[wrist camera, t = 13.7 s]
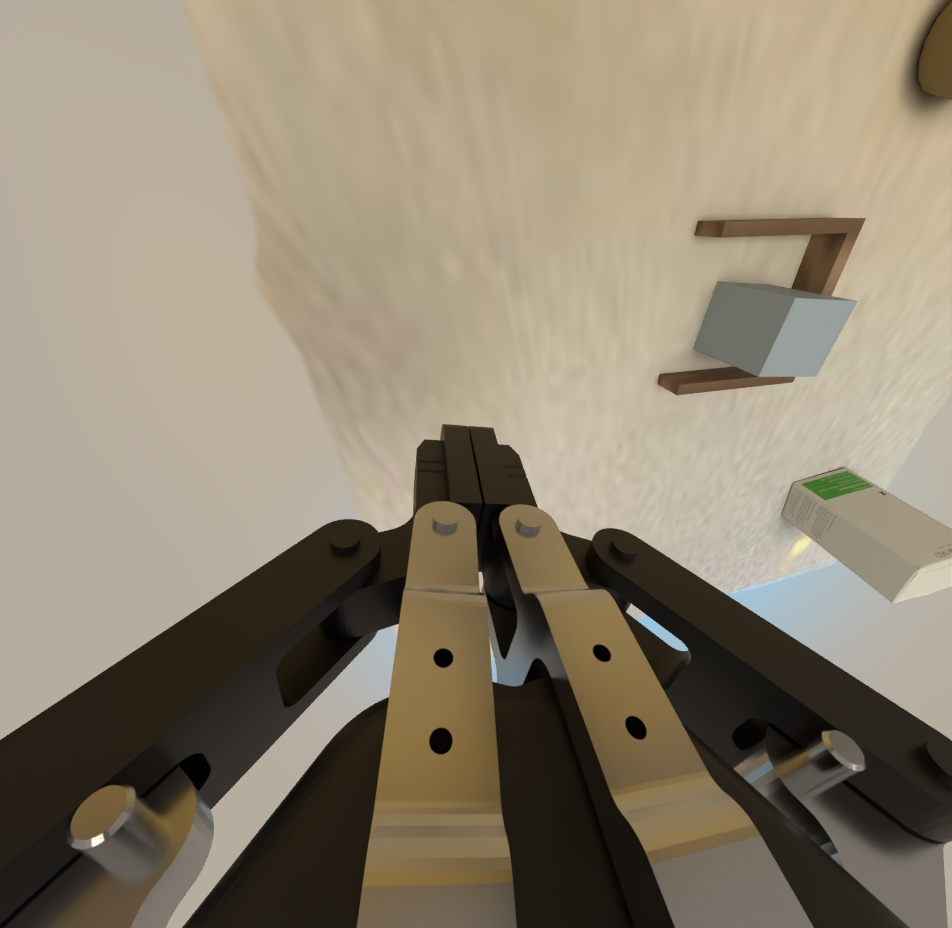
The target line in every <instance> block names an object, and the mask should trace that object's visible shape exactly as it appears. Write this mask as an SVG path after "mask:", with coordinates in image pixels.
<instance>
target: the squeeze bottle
mask: <svg viewBox="0 0 952 928" xmlns="http://www.w3.org/2000/svg"><path fill="white" fill-rule="evenodd" d="M918 80H919V83H920V85H921V87H922V90H923V91H924V92H926V93H929V94H931V95H934V96H939V97H944V98H949V99H952V0H951V1H950V3H949V4H948V5H947V6H946V8H945V9H944V10H943V11H942V13H941V14H940V15H939V16H938V18H937V20H936V22H935V23H934V25H933V27H932V29H931V31H930V33H929V35H928V36H927V38H926V41H925V44H924V47H923V50H922V53H921V57H920V60H919V72H918Z"/></svg>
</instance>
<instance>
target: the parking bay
mask: <svg viewBox="0 0 952 928" xmlns="http://www.w3.org/2000/svg"><path fill="white" fill-rule="evenodd" d="M865 219H866V218H803V219H762V220H721V221H698V225H697V229H696V233H695V235H699V236H712V237H742V236H772V235H803V234H813V235H812V238H811V240H810V243H809V246H808V248H807V251H806V253H805V256H804V258H803V261H802V263H801V266H800V269H799V271H798V274H797V276H796V279H795V281H794V284H793V287H792V289H795V290H801V291H806V292H811V293H817V294H822V295H827V296H831V295H832V293H833V291H834V289H835V286H836V284H837V282H838V280H839V277H840V275H841V273H842V271H843V268H844V266H845V264H846V262H847V259H848V257H849V255H850V253H851V250H852V248H853V246H854V244H855V241H856V239H857V237H858V235H859V232H860V230H861V228H862V226H863V223H864V221H865ZM794 378H795V377H758V376H756V375H753V374H751V373H749V372H746V371H744V370H742V369H739V368H737V367H727V368H717V369H707V370H697V371H687V372H677V373H667V374H660V377H659V381H658V384H659V385H661V386H662V387H664V388H666V389H667V390H669V391H671V392H672V393H674V394H675V395H683V394H691V393H700V392H709V391H718V390H727V389H736V388H745V387H754V386H763V385H772V384H781V383H790V382H793V381H794Z"/></svg>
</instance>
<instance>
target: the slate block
mask: <svg viewBox="0 0 952 928" xmlns="http://www.w3.org/2000/svg"><path fill="white" fill-rule="evenodd" d="M856 303H857V301H854V300H849V299H843V298H838V297H833V296H827V295H822V294H817V293H811V292H806V291H801V290H795V289H790V288H785V287H779V286H774V285H764V284H747V283H730V282H717V284H716V287H715V290H714V292H713V295H712V298H711V301H710V303H709V306H708V309H707V312H706V314H705V317H704V320H703V323H702V325H701V328H700V331H699V334H698V336H697V339H696V342H695V345H694V347H693V349H695V350H698V351H700V352H702V353H705V354H707V355H709V356H712V357H714V358H716V359H718V360H721V361H723V362H725V363H728V364H730V365H732V366H735V367H737V368H739V369H742V370H744V371H746V372H749V373H751V374H753V375H756V376H758V377H816V376H817V374H818V372H819V370H820V369H821V367H822V365H823V363H824V361H825V360H826V358H827V356H828V354H829V352H830V350H831V349H832V347H833V345H834V343H835V341H836V340H837V338H838V336H839V334H840V332H841V330H842V329H843V327H844V325H845V323H846V321H847V320H848V318H849V316H850V314H851V312H852V310H853V309H854V307H855V305H856Z"/></svg>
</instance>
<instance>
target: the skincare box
mask: <svg viewBox="0 0 952 928" xmlns="http://www.w3.org/2000/svg"><path fill="white" fill-rule="evenodd" d="M782 516H783V517H785V518H786V519H787V520H788V521H790V522H791V523H792V524H793V525H795V526H796V527H797V528H798V529H800V530H801V531H802V532H803V533H805V534H806V535H807V536H809V537H810V538H811V539H812V540H814V541H815V542H816V543H817V544H819V545H820V546H821V547H822V548H824V549H825V550H826V551H827V552H829V553H830V554H831V555H832V556H834V557H835V558H836V559H837V560H839V561H840V562H841V563H843V564H844V565H845V566H846V567H848V568H849V569H850V570H851V571H853V572H854V573H855V574H856V575H858V576H859V577H860V578H861V579H863V580H864V581H865V582H866V583H868V584H869V585H870V586H871V587H873V588H874V589H875V590H876V591H878V592H879V593H880V594H882V595H883V596H884V597H885V598H886V599H888V600H889V601H890V602H892V603H896V602H900V601H903V600H907V599H910V598H914V597H917V596H925V595H928V594H931V593H932V592H935V591H938V590H941V589H945V588H948V587H952V529H951V528H949V527H947V526H945V525H943V524H942V523H940V522H939V521H937V520H935V519H933V518H931V517H930V516H928V515H926V514H925V513H923V512H921V511H920V510H918V509H916V508H914V507H913V506H911V505H909V504H907V503H906V502H904V501H902V500H901V499H899V498H897V497H895V496H894V495H892V494H890V493H889V492H887V491H885V490H883V489H882V488H880V487H878V486H877V485H875V484H873V483H872V482H870V481H868V480H866V479H865V478H863V477H861V476H859V475H858V474H856V473H854V472H853V471H851V470H849V469H847V468H842V469H839V470H836V471H832V472H828V473H825V474H821V475H818V476H814V477H811V478H807V479H804V480H800V481H796V482H794V483H793V484H792V487H791V490H790V493H789V496H788V499H787V501H786V504H785V507H784V509H783V512H782Z"/></svg>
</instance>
